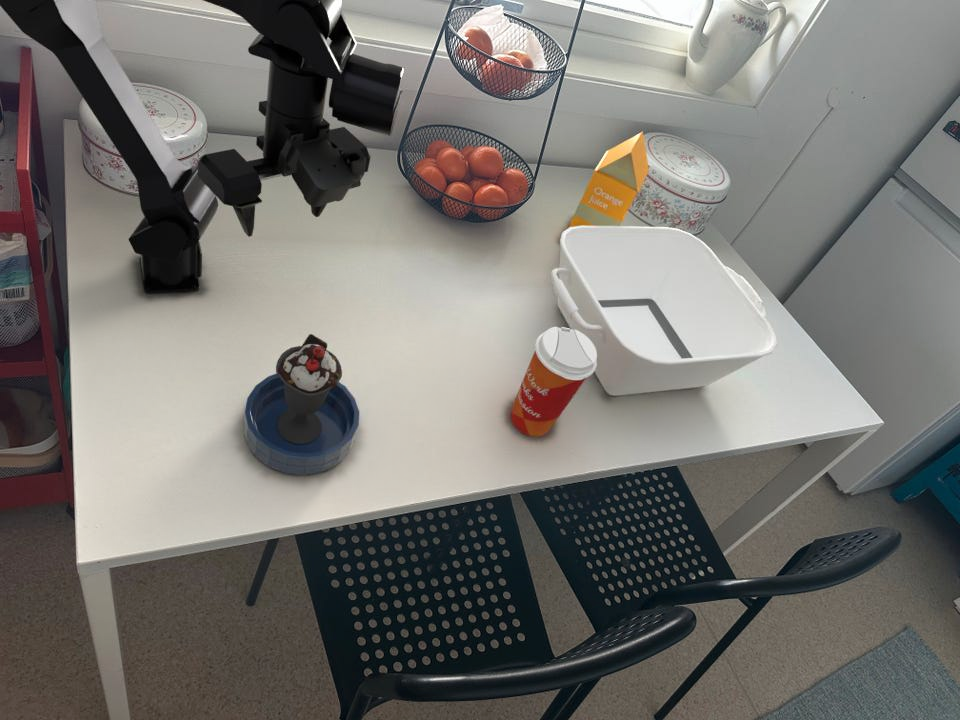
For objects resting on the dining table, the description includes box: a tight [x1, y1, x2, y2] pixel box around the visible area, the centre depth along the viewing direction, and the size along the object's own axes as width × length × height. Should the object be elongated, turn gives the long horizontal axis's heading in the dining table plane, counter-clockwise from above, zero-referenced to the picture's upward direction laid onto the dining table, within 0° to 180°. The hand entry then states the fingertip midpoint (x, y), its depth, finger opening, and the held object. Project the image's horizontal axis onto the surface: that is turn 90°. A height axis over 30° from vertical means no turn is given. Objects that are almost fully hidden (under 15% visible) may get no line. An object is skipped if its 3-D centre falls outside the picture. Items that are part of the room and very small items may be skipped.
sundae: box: [275, 333, 343, 444], centre depth 75 cm, size 7×7×15 cm
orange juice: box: [567, 130, 650, 229], centre depth 117 cm, size 8×9×20 cm
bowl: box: [242, 372, 360, 476], centre depth 80 cm, size 12×12×4 cm
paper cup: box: [510, 326, 597, 437], centre depth 87 cm, size 8×8×14 cm
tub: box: [550, 225, 778, 398], centre depth 103 cm, size 34×27×13 cm
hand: (282, 224), depth 84 cm, fingers open, 9 cm apart
